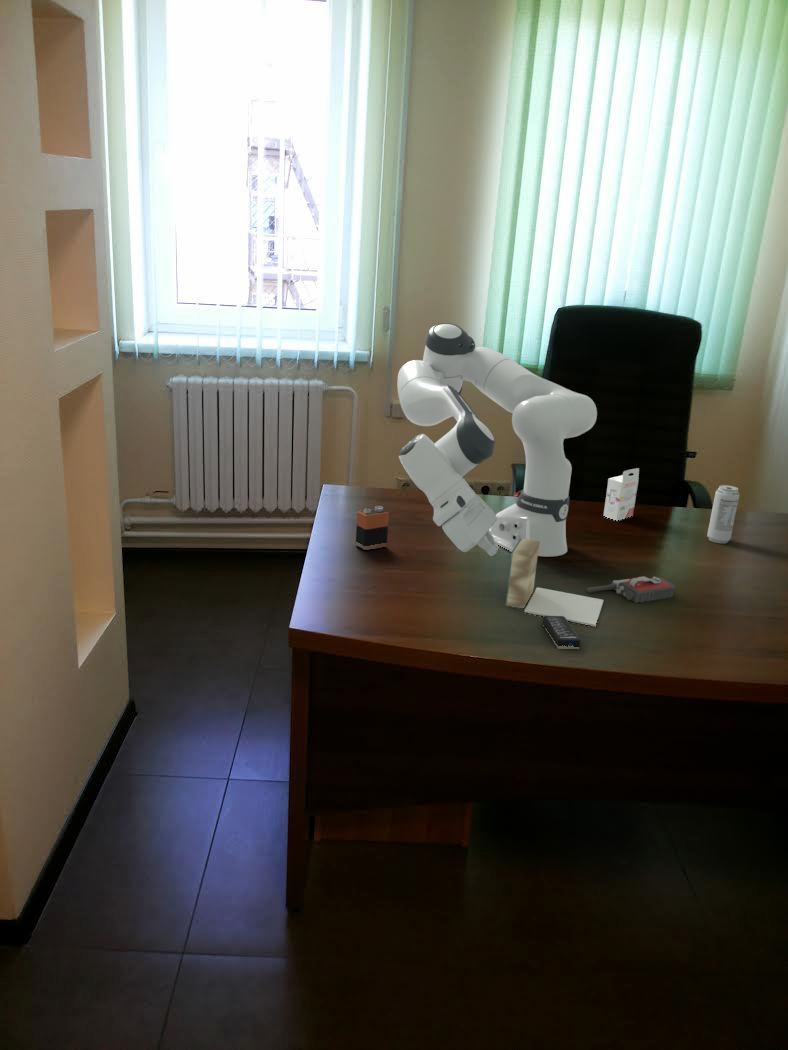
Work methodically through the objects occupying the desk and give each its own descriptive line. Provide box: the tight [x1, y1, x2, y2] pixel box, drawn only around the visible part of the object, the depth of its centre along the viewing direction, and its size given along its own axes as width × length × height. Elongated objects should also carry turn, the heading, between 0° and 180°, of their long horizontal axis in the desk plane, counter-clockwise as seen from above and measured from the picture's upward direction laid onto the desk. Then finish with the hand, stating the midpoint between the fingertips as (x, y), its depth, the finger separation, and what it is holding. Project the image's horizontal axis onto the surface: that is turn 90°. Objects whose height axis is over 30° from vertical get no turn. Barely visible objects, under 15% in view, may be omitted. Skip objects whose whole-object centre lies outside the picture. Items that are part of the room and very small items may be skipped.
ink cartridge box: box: [603, 467, 640, 522], centre depth 238 cm, size 9×5×15 cm, turn 132°
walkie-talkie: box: [586, 576, 676, 604], centre depth 184 cm, size 9×4×20 cm
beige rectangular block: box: [504, 538, 540, 609], centre depth 176 cm, size 4×10×12 cm, turn 160°
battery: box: [355, 505, 390, 546], centre depth 201 cm, size 4×7×10 cm, turn 126°
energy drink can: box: [706, 484, 740, 544], centre depth 223 cm, size 6×6×15 cm
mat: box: [523, 586, 604, 628], centre depth 175 cm, size 14×14×1 cm
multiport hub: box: [542, 616, 582, 647], centre depth 161 cm, size 4×11×2 cm, turn 6°
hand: (495, 552), depth 177 cm, fingers closed
